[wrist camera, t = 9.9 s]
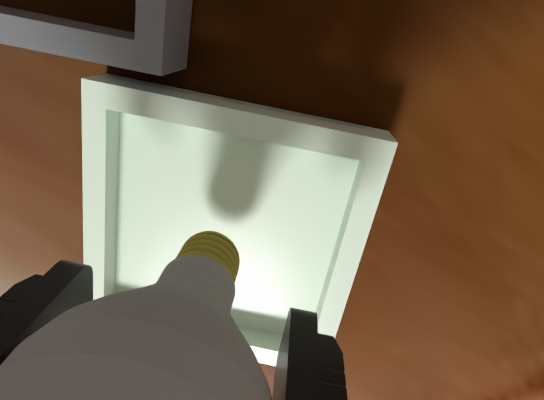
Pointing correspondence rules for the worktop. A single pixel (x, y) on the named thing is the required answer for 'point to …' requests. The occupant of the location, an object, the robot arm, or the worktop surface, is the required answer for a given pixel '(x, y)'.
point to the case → (108, 37)
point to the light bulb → (147, 340)
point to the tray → (228, 197)
